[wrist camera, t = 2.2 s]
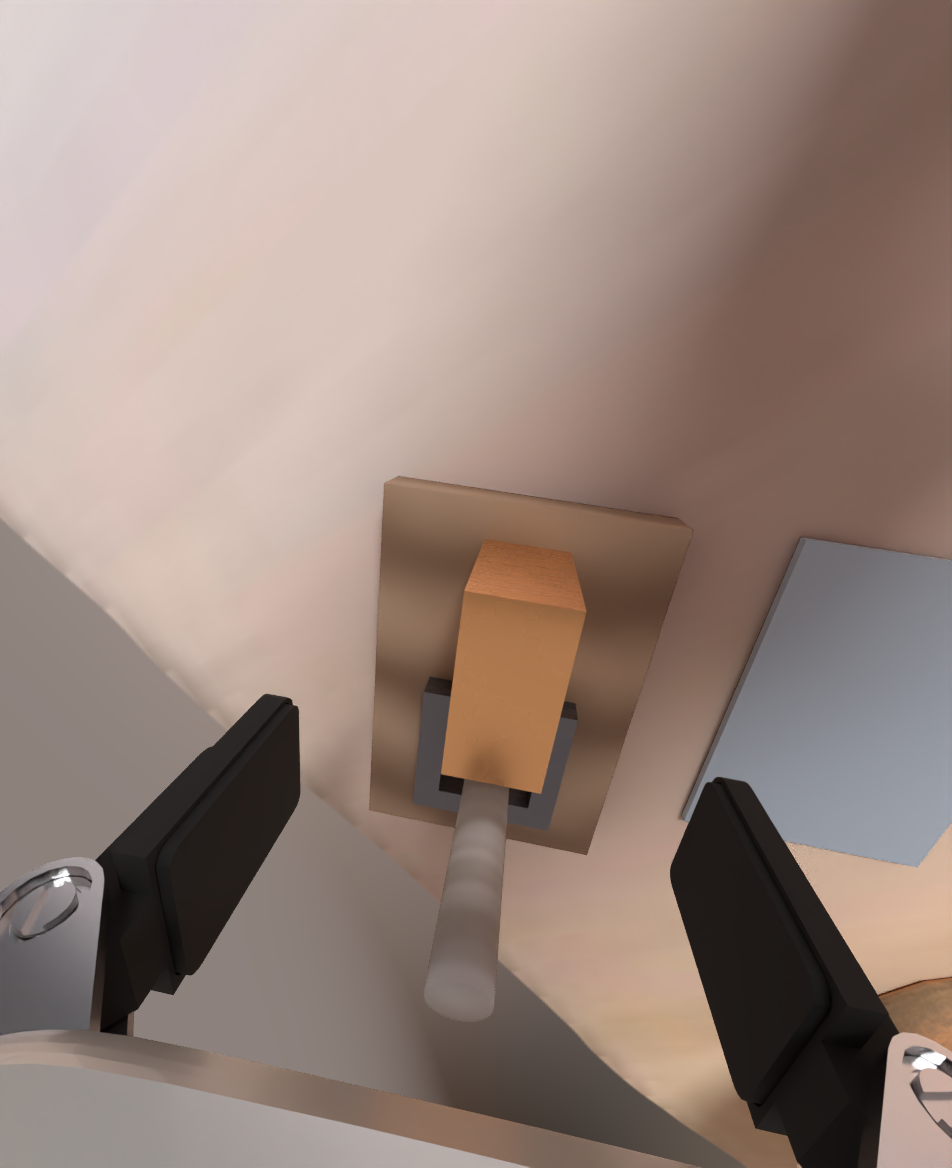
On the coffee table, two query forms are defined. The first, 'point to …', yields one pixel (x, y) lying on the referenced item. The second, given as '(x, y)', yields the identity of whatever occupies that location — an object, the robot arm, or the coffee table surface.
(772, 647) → the mat
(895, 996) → the pottery
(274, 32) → the coffee table surface
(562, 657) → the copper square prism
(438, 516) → the post stand
